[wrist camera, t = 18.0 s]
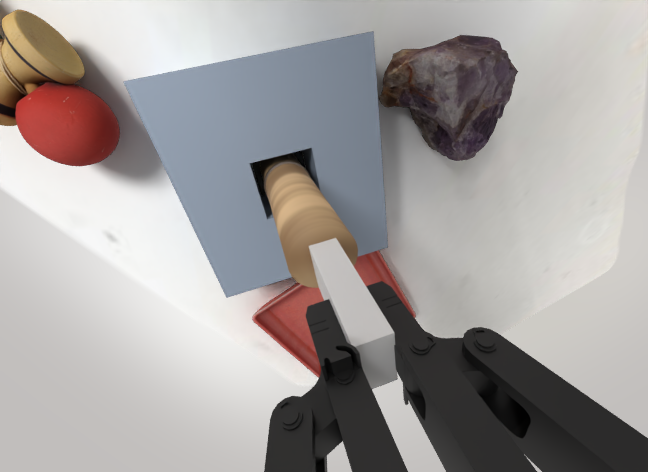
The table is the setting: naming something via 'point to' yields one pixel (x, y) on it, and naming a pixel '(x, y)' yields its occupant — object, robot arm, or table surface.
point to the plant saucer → (290, 306)
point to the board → (269, 147)
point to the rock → (452, 91)
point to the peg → (301, 216)
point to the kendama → (51, 94)
